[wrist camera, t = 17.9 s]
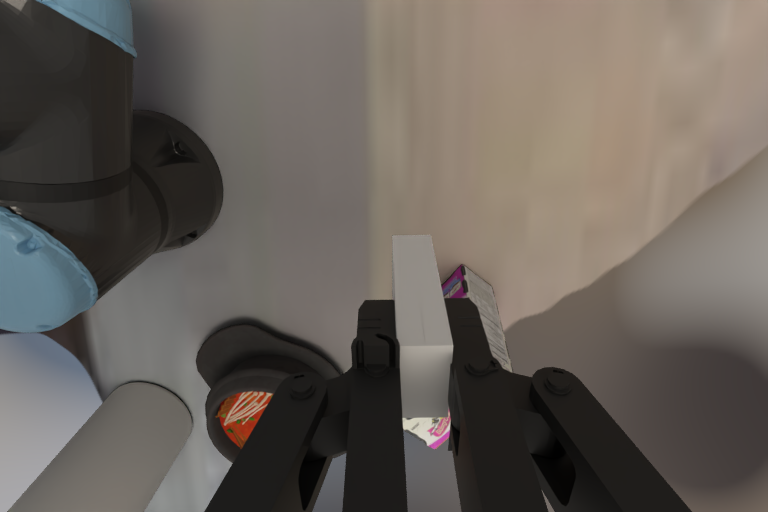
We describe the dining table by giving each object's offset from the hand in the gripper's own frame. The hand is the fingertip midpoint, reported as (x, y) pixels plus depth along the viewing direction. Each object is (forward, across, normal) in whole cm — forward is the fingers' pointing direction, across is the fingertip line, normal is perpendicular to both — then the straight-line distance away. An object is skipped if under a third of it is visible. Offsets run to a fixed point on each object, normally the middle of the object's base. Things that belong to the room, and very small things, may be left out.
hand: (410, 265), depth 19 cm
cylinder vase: (+33, -35, -44) cm, 65 cm away
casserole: (+32, -15, -38) cm, 51 cm away
